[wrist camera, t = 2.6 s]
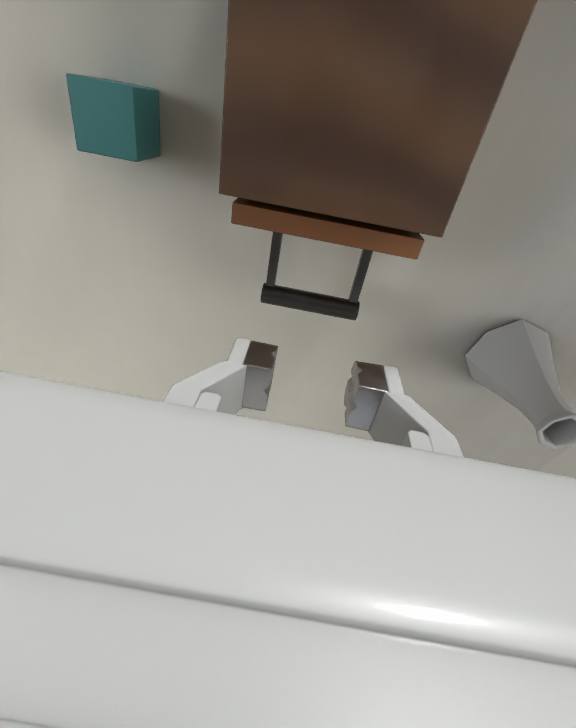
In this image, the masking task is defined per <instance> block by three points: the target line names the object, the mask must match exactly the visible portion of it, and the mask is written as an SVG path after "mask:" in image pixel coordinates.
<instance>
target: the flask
mask: <svg viewBox="0 0 576 728" xmlns="http://www.w3.org/2000/svg"><path fill="white" fill-rule="evenodd" d="M465 358H466V361H467V364H468V368H469V371H470V374H471V377H472V379H474V380H475V381H477V382H478V383H480V384H481V385H483V386H485V387H486V388H488V389H489V390H491V391H493V392H494V393H496V394H497V395H499V396H500V397H502V398H503V399H505V400H506V401H507V402H509V403H510V404H512V405H513V406H515V407H516V408H518V409H519V410H520V411H521V412H522V413H523V414H524V415H525V416H526V417H527V418H528V419H529V420H530V421H531V422H532V424H533V425H534V427H535V429H536V433H537V437H538V441H539V443H540V444H542V445H544V446H547V447H549V448H551V449H553V450H555V449H560V448H564V447H568V446H572V445H575V444H576V414H575V413H574V412H573V411H572V410H571V408H570V407H569V406H568V404H567V402H566V400H565V398H564V396H563V394H562V392H561V389H560V387H559V383H558V379H557V375H556V370H555V366H554V360H553V354H552V349H551V343H550V338H549V333H547V332H545V331H543V330H541V329H539V328H538V327H536V326H534V325H532V324H530V323H528V322H526V321H524V320H519V321H517V322H514V323H511V324H508V325H505V326H502V327H499V328H497V329H494V330H491V331H488V332H486V333H485V334H484V335H483V337H482V338H481V339H480V340H479V341H478V342H477V343H476V344H475V345H474V346H473V347H472V348H471V349H470V350H469V352H468V353H467V354H466V355H465Z"/></svg>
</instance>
